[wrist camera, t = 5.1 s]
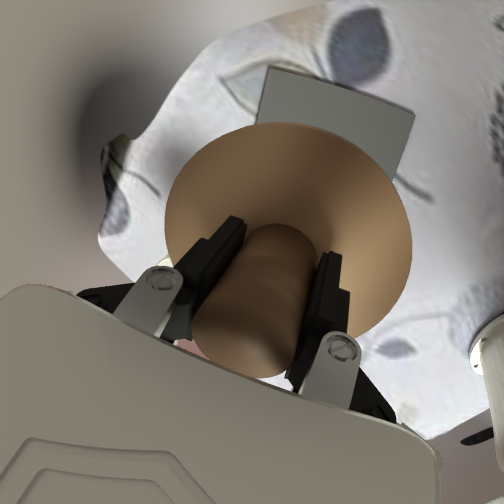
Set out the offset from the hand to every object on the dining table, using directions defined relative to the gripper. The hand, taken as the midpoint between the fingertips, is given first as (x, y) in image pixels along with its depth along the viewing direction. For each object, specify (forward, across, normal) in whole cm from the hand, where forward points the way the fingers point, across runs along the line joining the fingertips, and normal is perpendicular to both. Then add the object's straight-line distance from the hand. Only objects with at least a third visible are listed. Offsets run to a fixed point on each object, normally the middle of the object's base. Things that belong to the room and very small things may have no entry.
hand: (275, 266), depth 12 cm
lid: (+1, 0, 0) cm, 1 cm away
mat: (+19, 0, 0) cm, 19 cm away
